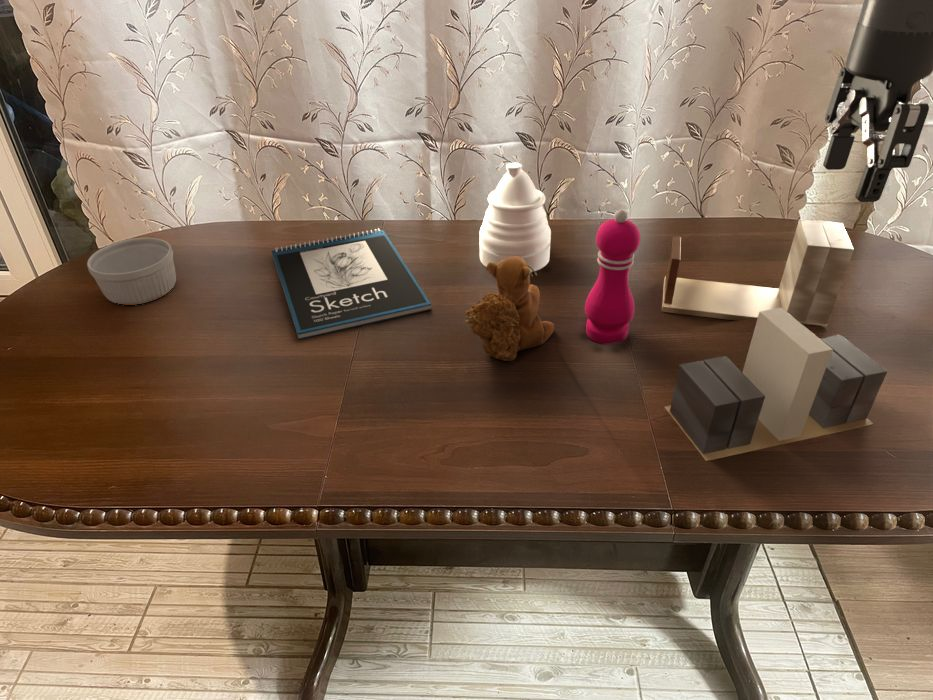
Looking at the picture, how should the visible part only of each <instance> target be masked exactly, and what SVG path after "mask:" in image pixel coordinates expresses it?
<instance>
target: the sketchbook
mask: <svg viewBox="0 0 933 700" xmlns="http://www.w3.org/2000/svg"><path fill="white" fill-rule="evenodd" d="M303 243H304V244H302V242H299V245H297V243H295V244H294V246H293V244H290V246H289V247H288V245H285V248H284V247H283V245H281V246H280V248H279V247H278V246H276V247H274V250H271V255H272V259H273V261H274V265H275V268H276V272H277V274H278V278H279V281H280V284H281V286H282V290H283V293H284V296H285V300H286V303H287V306H288V309H289V313H290V316H291V319H292V322H293V325H294V329H295V331H296V335H297V338H298V340H302V339H306V338H313V337H316V336H320V335H324V334H330V333H333V332H339V331H343V330H346V329H352V328H357V327H360V326H366V325H369V324H374V323H378V322H382V321H386V320H387V321H388V320H391V319H396V318H400V317H404V316H405V317H406V316H410V315H413V314H419V313H423V312H428V311H432V309H433V308H432V303H431V301H430V299H429V298H428V297H427V295H426V293H425V292H424V290H423V289H422V287H421V286H420V284H419V282H418V281H417V280H416V278H415V277H414V275H413V273H412V272H411V270H410V269H409V267H408V265H407V264H406V262H405V261H404V260H403V258H402V257H401V255H400V253H399V252H398V250H397V249H396V247H395V246H394V244H393V243H392V241H391V239H390V238H389V237H388V235H387V233H386V231H385V230H384V229H380V228H377V229H376V228H374V231H373V230H372V229H370V232H369V231H368V230H366V232H364V231H362V230H361V233H360V232H359V231H358V232H357V234H355V232H353V235H351V233H348V236H347V235H346V234H344V236H343V237H342V235H339V238H338V235H335V238H334V237H333V236H331V237H330V239H329V237H326V240H325V239H324V238H322V240H320V239H317V242H316V241H315V239H314V240H312V242H311V241H310V240H308V243H306V241H303Z"/></svg>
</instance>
